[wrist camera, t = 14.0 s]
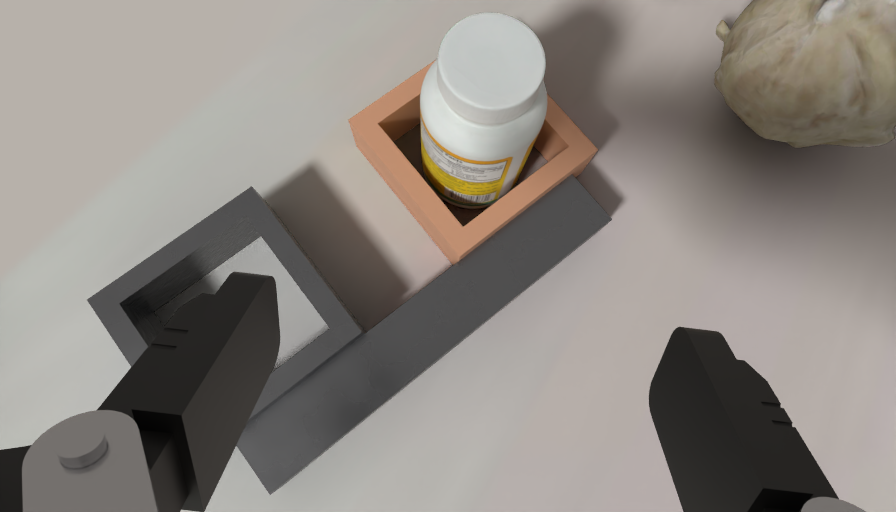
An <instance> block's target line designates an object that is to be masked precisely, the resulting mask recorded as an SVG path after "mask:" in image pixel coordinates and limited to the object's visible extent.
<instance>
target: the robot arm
mask: <svg viewBox="0 0 896 512" xmlns="http://www.w3.org/2000/svg"><path fill="white" fill-rule="evenodd" d="M279 345H280V329H279V316H278V304H277V291H276V283H275V279H274V278H273V277H272V276H266V275H258V274H250V273H242V272H233V273H231V274H230V275H229V277H228V278H227V279H226V281H225V282H224V283H223V285H222V286H221V287H220V289H219V290H218V291H217V293H216V294H215V295H211V294H201V295H199V296H198V297H196V298H194V299H193V300H191V301H190V302H188V303H187V304H185V305H183V306H182V307H180V308H179V309H178V310H177V311H176V312H175V314H174V315H173V316H172V317H171V319H170V320H169V321H168V322H167V324H166V325H165V326H164V329H163V331H160V332H159V334H158V335H157V336H156V337H155V339H154V340H153V341H152V342H151V346H150V348H149V347H147V349H146V350H145V351H144V352H143V354H142V355H141V356H140V357H139V359H138V360H137V361H136V362H135V364H134V365H133V366H132V367H131V369H130V370H129V371H128V372H127V373H126V375H125V376H124V377H123V378H122V380H121V381H120V382H119V383H118V385H117V386H116V387H115V388H114V390H113V391H112V392H111V393H110V395H109V396H108V397H107V398H106V400H105V401H104V402H103V403H102V405H101V406H100V407H99V408H98V409H97V410H96V411H90V412H86V413H82V414H78V415H76V416H73V417H70V418H68V419H66V420H64V421H62V422H60V423H58V424H56V425H55V426H53V427H51V428H50V429H49V430H47V431H46V432H45V433H43V434H42V435H41V436H40V437H39V438H38V439H37V440H36V441H35V442H34V443H33V444H32V445H30V446H25V447H18V448H11V449H4V450H0V512H180V511H181V509H182V510H190V511H199V512H204V511H205V509H206V507H207V505H208V503H209V501H210V498H211V496H212V494H213V492H214V490H215V488H216V486H217V484H218V482H219V480H220V478H221V476H222V474H223V472H224V469H225V467H226V465H227V463H228V461H229V459H230V457H231V455H232V453H233V451H234V449H235V447H236V445H237V442H238V440H239V438H240V436H241V434H242V432H243V430H244V428H245V426H246V424H247V422H248V420H249V418H250V415H251V413H252V411H253V409H254V407H255V405H256V403H257V401H258V399H259V397H260V395H261V393H262V391H263V389H264V386H265V384H266V382H267V380H268V378H269V376H270V374H271V372H272V370H273V368H274V365H275V363H276V360H277V356H278V352H279ZM780 405H781V403H780V402H779V400H778V398H777V397H776V395H775V394H774V392H773V390H772V389H771V387H770V385H769V384H768V382H767V381H766V380H765V379H764V378H763V377H762V376H761V375H760V374H759V373H757V372H756V371H755V370H754V369H753V368H752V367H751V366H750V365H749V364H748V363H747V362H745V361H743V360H737V359H736V358H735V356H734V354H733V352H732V351H731V349H730V347H729V345H728V344H727V342H726V340H725V338H724V337H723V335H722V334H721V333H719V332H717V331H709V330H701V329H693V328H684V327H678V328H676V329H675V330H674V331H673V333H672V335H671V337H670V339H669V342H668V344H667V347H666V349H665V351H664V354H663V356H662V358H661V361H660V363H659V365H658V368H657V370H656V372H655V375H654V377H653V380H652V382H651V386H650V391H649V407H650V412H651V416H652V419H653V422H654V425H655V428H656V431H657V434H658V437H659V440H660V443H661V446H662V449H663V452H664V455H665V458H666V461H667V464H668V467H669V470H670V473H671V476H672V479H673V482H674V485H675V488H676V491H677V494H678V497H679V500H680V503H681V506H682V509H683V512H865V511H864V510H862V509H861V508H859V507H857V506H855V505H853V504H850V503H848V502H845V501H843V500H839V498H838V496H837V495H836V493H835V492H834V490H833V488H832V487H831V485H830V483H829V482H828V480H827V478H826V477H825V475H824V474H823V472H822V470H821V469H820V467H819V465H818V464H817V462H816V460H815V459H814V457H813V456H812V454H811V452H810V451H809V449H808V447H807V446H806V444H805V443H804V441H803V439H802V438H801V436H800V434H799V433H798V431H797V429H796V428H795V427H792V421H791V420H790V418H789V416H788V415H787V413H786V411H785V410H784V408H781V407H780Z"/></svg>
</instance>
